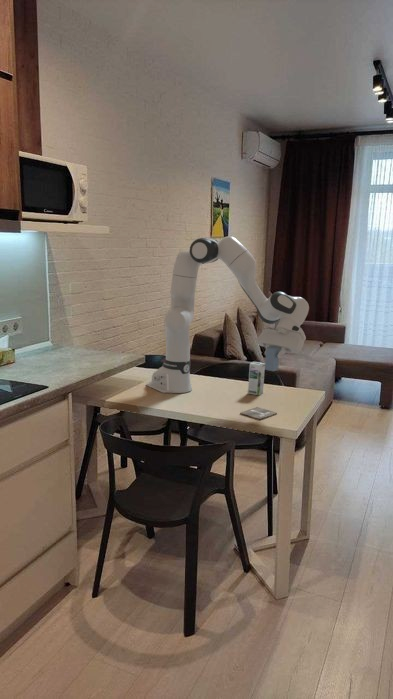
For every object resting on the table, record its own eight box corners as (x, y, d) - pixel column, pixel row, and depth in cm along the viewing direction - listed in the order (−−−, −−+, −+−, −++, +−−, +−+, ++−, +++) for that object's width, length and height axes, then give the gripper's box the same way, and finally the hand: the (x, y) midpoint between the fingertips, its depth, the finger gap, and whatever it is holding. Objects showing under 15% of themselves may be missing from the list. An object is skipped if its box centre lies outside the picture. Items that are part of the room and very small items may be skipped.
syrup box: (247, 393, 246) (249, 363, 243) (252, 390, 251) (254, 360, 248) (258, 395, 243) (261, 365, 240) (263, 392, 248) (265, 362, 246)
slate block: (264, 369, 220) (266, 348, 219) (270, 368, 223) (271, 347, 221) (272, 371, 218) (274, 349, 216) (278, 369, 221) (279, 348, 219)
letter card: (239, 414, 216) (240, 412, 216) (257, 408, 225) (257, 406, 225) (260, 420, 210) (260, 418, 209) (277, 414, 218) (277, 412, 218)
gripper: (263, 322, 229) (248, 347, 223) (305, 329, 215) (290, 355, 210) (268, 331, 233) (253, 356, 228) (309, 338, 220) (295, 365, 214)
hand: (271, 356), depth 219 cm, fingers closed on slate block, 4 cm apart
